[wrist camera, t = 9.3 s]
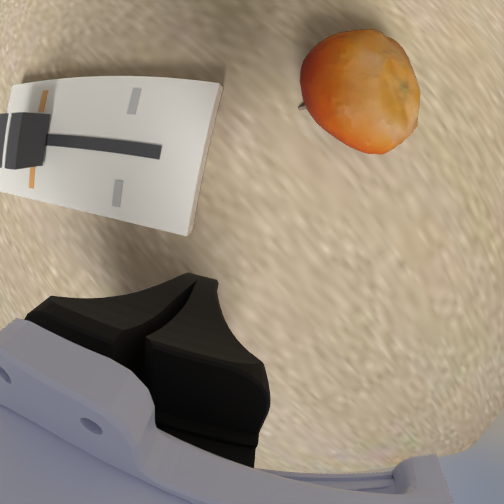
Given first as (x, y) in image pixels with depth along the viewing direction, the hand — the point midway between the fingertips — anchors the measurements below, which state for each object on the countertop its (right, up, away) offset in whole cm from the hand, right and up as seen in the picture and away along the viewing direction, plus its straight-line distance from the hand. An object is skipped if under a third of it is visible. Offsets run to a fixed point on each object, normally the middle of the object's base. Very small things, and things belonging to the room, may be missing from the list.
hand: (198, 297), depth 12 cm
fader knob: (-17, +12, +6) cm, 22 cm away
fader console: (-12, +11, +8) cm, 18 cm away
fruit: (+9, +13, +6) cm, 17 cm away
